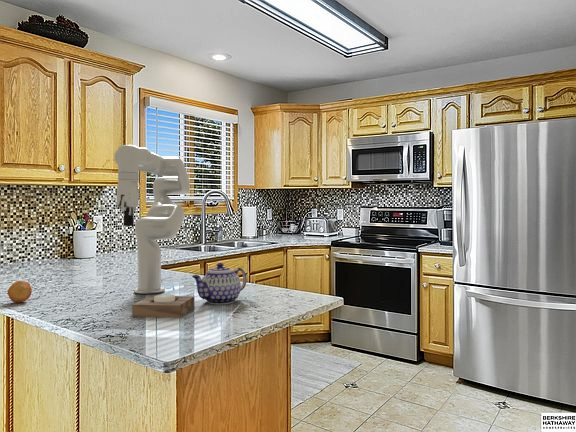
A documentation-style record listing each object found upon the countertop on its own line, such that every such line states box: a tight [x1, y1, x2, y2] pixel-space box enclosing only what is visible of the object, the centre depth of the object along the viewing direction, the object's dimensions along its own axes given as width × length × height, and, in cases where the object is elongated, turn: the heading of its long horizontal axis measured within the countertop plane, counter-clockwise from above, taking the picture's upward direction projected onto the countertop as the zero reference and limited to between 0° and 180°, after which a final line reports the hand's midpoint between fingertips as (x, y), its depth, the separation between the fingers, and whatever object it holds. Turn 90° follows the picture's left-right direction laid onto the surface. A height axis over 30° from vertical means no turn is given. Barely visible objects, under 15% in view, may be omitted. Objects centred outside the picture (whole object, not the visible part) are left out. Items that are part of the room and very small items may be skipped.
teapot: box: [191, 262, 248, 305], centre depth 175 cm, size 25×15×15 cm, turn 132°
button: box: [153, 294, 176, 303], centre depth 158 cm, size 7×7×4 cm
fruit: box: [7, 280, 33, 303], centre depth 176 cm, size 8×8×8 cm
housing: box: [131, 295, 195, 319], centre depth 158 cm, size 16×16×4 cm
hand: (128, 225), depth 175 cm, fingers closed
